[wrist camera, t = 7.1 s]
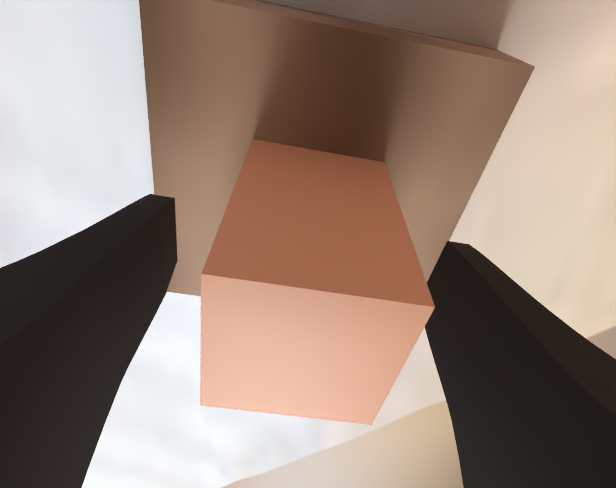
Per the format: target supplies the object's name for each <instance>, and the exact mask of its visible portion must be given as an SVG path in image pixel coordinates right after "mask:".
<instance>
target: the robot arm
mask: <svg viewBox="0 0 616 488" xmlns="http://www.w3.org/2000/svg"><path fill="white" fill-rule="evenodd" d="M177 261H178V259H177V236H176V213H175V198H173V197H166V196H160V195H154V194H149V195H147V196H145V197H143V198H141V199H139V200H137V201H135V202H134V203H132V204H130V205H128V206H126V207H125V208H123V209H121V210H119V211H117V212H116V213H114V214H112V215H110V216H108V217H107V218H105V219H103V220H101V221H99V222H97V223H96V224H94V225H92V226H90V227H88V228H86V229H84V230H83V231H81V232H79V233H76V234H74V235H72V236H70V237H68V238H66V239H64V240H62V241H60V242H58V243H56V244H54V245H52V246H50V247H48V248H46V249H44V250H42V251H40V252H37V253H35V254H33V255H31V256H28V257H26V258H24V259H21V260H19V261H17V262H14V263H12V264H9V265H7V266H4V267H2V268H0V488H81V487H82V484H83V482H84V479H85V476H86V473H87V470H88V467H89V464H90V462H91V459H92V456H93V454H94V451H95V448H96V446H97V443H98V440H99V437H100V435H101V432H102V429H103V427H104V424H105V421H106V419H107V416H108V414H109V411H110V409H111V406H112V404H113V401H114V398H115V396H116V393H117V391H118V388H119V386H120V383H121V381H122V379H123V377H124V375H125V373H126V370H127V368H128V366H129V364H130V362H131V360H132V358H133V356H134V355H135V353H136V351H137V349H138V347H139V345H140V343H141V341H142V339H143V337H144V335H145V333H146V331H147V329H148V328H149V326H150V324H151V322H152V320H153V318H154V316H155V314H156V312H157V310H158V308H159V306H160V304H161V302H162V300H163V298H164V296H165V294H166V292H167V289H168V286H169V284H170V281H171V278H172V275H173V272H174V269H175V266H176V263H177ZM427 286H428V288H429V291H430V294H431V297H432V300H433V303H434V306H435V308H434V310H433V312H432V314H431V316H430V318H429V319H428V321H427V323H426V325H425V330H426V333H427V337H428V340H429V344H430V347H431V351H432V354H433V357H434V361H435V364H436V367H437V371H438V374H439V377H440V381H441V384H442V387H443V391H444V394H445V397H446V401H447V404H448V408H449V411H450V416H451V419H452V423H453V429H454V434H455V440H456V445H457V450H458V455H459V460H460V467H461V473H462V479H463V486H464V488H616V359H614V358H613V357H611V356H610V355H609V354H607V353H605V352H604V351H603V350H601V349H600V348H598V347H597V346H595V345H594V344H592V343H591V342H590V341H588V340H587V339H586V338H584V337H583V336H581V335H580V334H579V333H577V332H576V331H575V330H573V329H572V328H571V327H570V326H568V325H567V324H566V323H564V322H563V321H562V320H561V319H559V318H558V317H557V316H555V315H554V314H553V313H552V312H550V311H549V310H548V309H547V308H545V307H544V306H543V305H542V304H541V303H539V302H538V301H537V300H536V299H534V298H533V297H532V296H531V295H530V294H528V293H527V292H526V291H525V290H524V289H523V288H521V287H520V286H519V285H518V284H517V283H516V282H514V281H513V280H512V279H511V278H510V277H509V276H507V275H506V274H505V273H504V272H503V271H502V270H500V269H499V268H498V267H497V266H496V265H495V264H493V263H492V262H491V261H490V260H489V259H487V258H486V257H485V256H484V255H482V254H481V253H480V252H479V251H477V250H476V249H475V248H473V247H472V246H470V245H469V244H463V243H457V242H450V241H447V242H446V244H445V246H444V248H443V250H442V253H441V255H440V257H439V259H438V261H437V263H436V265H435V267H434V269H433V271H432V273H431V275H430V277H429V279H428V281H427Z"/></svg>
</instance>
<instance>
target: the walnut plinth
mask: <svg viewBox="0 0 616 488" xmlns="http://www.w3.org/2000/svg"><path fill="white" fill-rule="evenodd" d="M139 5H140V18H141V30H142V43H143V55H144V68H145V80H146V93H147V105H148V118H149V130H150V143H151V155H152V168H153V181H154V193H155V195H160V196H166V197H173V198H175V213H176V236H177V259H178V261H177V263H176V266H175V269H174V272H173V275H172V278H171V281H170V284H169V286H168V289H167V292H175V293H182V294H189V295H196V296H201V273H202V270H203V268H204V265H205V263H206V260H207V257H208V255H209V252H210V250H211V247H212V244H213V242H214V239H215V236H216V234H217V231H218V229H219V226H220V223H221V221H222V218H223V215H224V213H225V210H226V208H227V205H228V202H229V200H230V197H231V194H232V192H233V189H234V187H235V184H236V181H237V179H238V176H239V173H240V171H241V168H242V166H243V163H244V160H245V158H246V155H247V152H248V150H249V147H250V145H251V142H252V139H255V140H260V141H266V142H272V143H278V144H283V145H289V146H295V147H300V148H306V149H312V150H317V151H323V152H329V153H334V154H340V155H346V156H351V157H357V158H363V159H369V160H374V161H380V162H385V165H386V167H387V170H388V173H389V176H390V179H391V182H392V185H393V188H394V190H395V193H396V196H397V199H398V202H399V205H400V208H401V211H402V214H403V216H404V219H405V222H406V225H407V228H408V231H409V234H410V237H411V239H412V242H413V245H414V248H415V251H416V254H417V257H418V260H419V263H420V265H421V268H422V271H423V274H424V277H425V280H426V283H427V281H428V279H429V277H430V275H431V273H432V271H433V269H434V267H435V265H436V263H437V261H438V259H439V257H440V255H441V253H442V250H443V248H444V246H445V244H446V242H447V241H449V239H450V237H451V235H452V233H453V231H454V229H455V227H456V225H457V223H458V221H459V219H460V217H461V215H462V213H463V211H464V209H465V207H466V205H467V203H468V201H469V199H470V197H471V195H472V193H473V191H474V189H475V187H476V185H477V183H478V181H479V179H480V177H481V175H482V173H483V171H484V169H485V167H486V165H487V163H488V161H489V158H490V156H491V154H492V152H493V150H494V148H495V146H496V144H497V142H498V140H499V138H500V136H501V134H502V132H503V130H504V128H505V126H506V124H507V122H508V120H509V118H510V116H511V114H512V112H513V110H514V108H515V106H516V104H517V102H518V100H519V98H520V96H521V94H522V92H523V90H524V88H525V86H526V84H527V82H528V80H529V77H530V75H531V73H532V71H533V69H534V66H532V65H529V64H527V63H525V62H523V61H521V60H518V59H516V58H514V57H512V56H510V55H507V54H505V53H503V52H501V51H498V50H495V49H490V48H485V47H481V46H476V45H471V44H466V43H461V42H456V41H452V40H447V39H442V38H437V37H432V36H427V35H423V34H418V33H413V32H408V31H403V30H398V29H394V28H389V27H384V26H379V25H374V24H369V23H365V22H360V21H355V20H350V19H345V18H340V17H336V16H331V15H326V14H321V13H316V12H311V11H307V10H302V9H297V8H292V7H287V6H282V5H278V4H273V3H268V2H263V1H258V0H139Z"/></svg>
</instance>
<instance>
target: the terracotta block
mask: <svg viewBox="0 0 616 488" xmlns="http://www.w3.org/2000/svg"><path fill="white" fill-rule="evenodd" d="M434 308H435V306H434V303H433V300H432V297H431V294H430V291H429V288H428V286H427V283H426V280H425V277H424V274H423V271H422V268H421V265H420V263H419V260H418V257H417V254H416V251H415V248H414V245H413V242H412V239H411V237H410V234H409V231H408V228H407V225H406V222H405V219H404V216H403V214H402V211H401V208H400V205H399V202H398V199H397V196H396V193H395V190H394V188H393V185H392V182H391V179H390V176H389V173H388V170H387V167H386V165H385V162H380V161H374V160H369V159H363V158H357V157H351V156H346V155H340V154H334V153H329V152H323V151H317V150H312V149H306V148H300V147H295V146H289V145H283V144H278V143H272V142H266V141H260V140H255V139H252V142H251V145H250V147H249V150H248V152H247V155H246V158H245V160H244V163H243V166H242V168H241V171H240V173H239V176H238V179H237V181H236V184H235V187H234V189H233V192H232V194H231V197H230V200H229V202H228V205H227V208H226V210H225V213H224V215H223V218H222V221H221V223H220V226H219V229H218V231H217V234H216V236H215V239H214V242H213V244H212V247H211V250H210V252H209V255H208V257H207V260H206V263H205V265H204V268H203V270H202V273H201V382H200V405H202V406H211V407H220V408H229V409H237V410H246V411H255V412H264V413H273V414H282V415H291V416H299V417H308V418H317V419H326V420H335V421H344V422H353V423H361V424H370V425H372V423H373V421H374V420H375V418H376V416H377V414H378V412H379V410H380V408H381V407H382V405H383V403H384V401H385V399H386V397H387V395H388V394H389V392H390V390H391V388H392V386H393V384H394V382H395V381H396V379H397V377H398V375H399V373H400V371H401V369H402V368H403V366H404V364H405V362H406V360H407V358H408V357H409V355H410V353H411V351H412V349H413V347H414V345H415V344H416V342H417V340H418V338H419V336H420V334H421V332H422V331H423V329H424V327H425V325H426V323H427V321H428V319H429V318H430V316H431V314H432V312H433V310H434Z"/></svg>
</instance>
